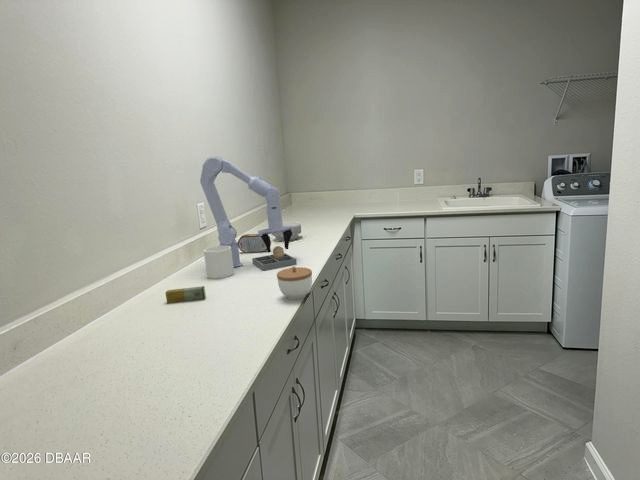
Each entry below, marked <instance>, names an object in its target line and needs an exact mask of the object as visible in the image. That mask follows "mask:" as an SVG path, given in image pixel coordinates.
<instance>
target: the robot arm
mask: <svg viewBox="0 0 640 480" xmlns="http://www.w3.org/2000/svg"><path fill="white" fill-rule="evenodd" d="M220 173H226V174H231V175H233V176H234V177H236V178H237V179H239V180H241V181H242V182H244V183H246V184H247V186H248V189H249V190H251V191H252V192H254V193H255V194H256V195H258V196H260V197H262V198H263V197H264V198H265V200H266V213H267V216H266V217H267V223H268V225H267V226H268V228H264V229H260V230H257V234H258V235H259V236H261V238H262V239H263V241H264V243H265V245H266V248H267V251H266V252H268V253H271V252H272V251H271V249H272V248H271V246H270V240H271V237H270V235H272V234H273V233H280V232H283V236H284V241H283V242H284V244H283V245H284V249H285V250H289V247H290V246H289V245H290V238H291V236H292V232H291V231H294V230H293V226H283V224H282V222H283V215H282V213H283V212H282V206H281V201H280V199H281V194H280V193H281V192H280V191H279V189H278V188H277V187H276V186H274V185H273V184H271V183H270V184H269V183H267V182H266V181H264V180H263V177H262V176H259V177H258V176H257V175H256V176H251V175H250V174H248V173H247V172H246V171H244V170H243V169H241V168H240V167H238V166H237V165H235V164H233V163H232V162H230V161H229V160H226V159H223V158H222V157H221V156H219V155H218V156H217V155H212V156H209V157H207V158H206V160H205V161H204V163H203V164H202V169H201V174H200V175H201V176H200V178H199V179H200V180H199V181H200V185H201V188H202V190H203V192H204V195H205V197H206V201H207V203H208V206H209V209H210V210H211V213H212V216H213V218H214V221H215V224H216V229H217V232H218V238H217V240H218V241H219V246H230V247H231V251H232V259H233V267H234V268H235V267H241V266H242V267H243V266H244V264H243V262H241V259H240V251H239V250H240V249H239V247H238V241H237V240H236V238H237V235H238V234H237V230H236V228H235V227H233V225H232V222H231V221H230V219H229V218H228V216H227V213H226V210H225V207H224V205H223V203H222V200H221V197H220V195H219V192H218V189H217V187H216V184H215V181H216V179H217V176H218V175H219V174H220Z"/></svg>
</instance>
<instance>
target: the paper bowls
mask: <svg viewBox="0 0 640 480" xmlns="http://www.w3.org/2000/svg"><path fill="white" fill-rule="evenodd" d="M282 224H283V226H293V230H294V231H291V232H292V236H291V238H290V241H294V240H296V239H297V238H298V236H299V235H300V234H301V233H302V225H301V222H297V221H282ZM271 236H272V237H275V239H276V240H277V241H279V242H284V236H283V232H280V233H273V234H271ZM290 241H289V242H290Z"/></svg>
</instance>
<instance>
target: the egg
mask: <svg viewBox="0 0 640 480" xmlns="http://www.w3.org/2000/svg"><path fill="white" fill-rule="evenodd" d="M284 251H285V250H284V248H283V247H282V246H281V245H277V246H275V247H273V249H272V255H273V257H274V258H279V257H284V253H285V252H284Z"/></svg>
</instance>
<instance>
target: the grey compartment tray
mask: <svg viewBox="0 0 640 480" xmlns="http://www.w3.org/2000/svg"><path fill="white" fill-rule="evenodd" d="M251 259H252V264H253V265H254V266H256V267H257V268H258V269H260V270H261V271H263V272H265V271H269V270H276V269H280V268H285V267H290V266H294V265H295V266H296V265H298V263H297V258H295V257H294V256H292V255H289V254H287V253H285V252H284V257H279V258H274V257H273V254H269V255H263V256H259V257H258V256H257V257H252V258H251Z"/></svg>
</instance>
